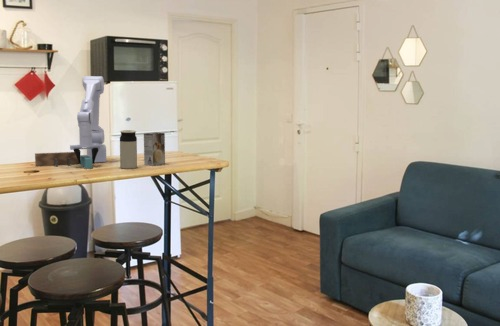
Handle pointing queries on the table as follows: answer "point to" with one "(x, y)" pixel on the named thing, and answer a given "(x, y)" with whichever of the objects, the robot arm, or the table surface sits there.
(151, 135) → the coffee box
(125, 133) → the travel mug
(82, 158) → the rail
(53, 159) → the brown wooden bar
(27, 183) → the table surface
